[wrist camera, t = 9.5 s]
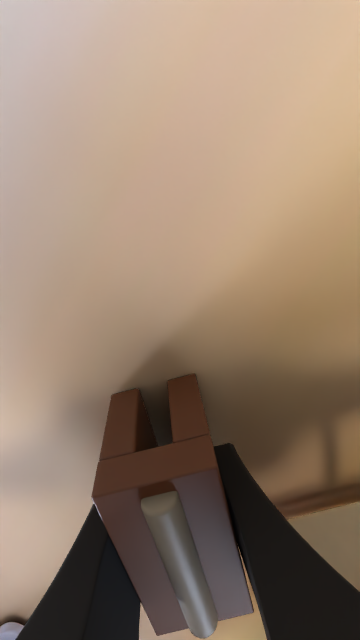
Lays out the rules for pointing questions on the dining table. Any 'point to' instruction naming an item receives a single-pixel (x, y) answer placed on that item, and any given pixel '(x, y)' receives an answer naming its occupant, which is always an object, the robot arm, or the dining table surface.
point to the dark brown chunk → (170, 513)
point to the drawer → (334, 538)
